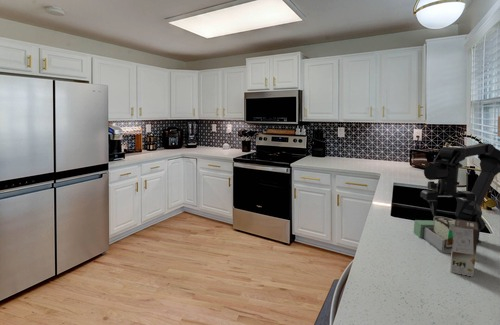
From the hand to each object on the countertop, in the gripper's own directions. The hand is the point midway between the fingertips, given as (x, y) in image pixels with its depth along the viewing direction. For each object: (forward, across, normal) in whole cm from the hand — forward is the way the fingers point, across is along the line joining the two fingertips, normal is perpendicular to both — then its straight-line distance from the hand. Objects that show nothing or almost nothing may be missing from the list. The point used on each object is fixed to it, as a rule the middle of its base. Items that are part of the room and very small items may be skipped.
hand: (445, 215), depth 120 cm
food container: (+12, 0, +2) cm, 12 cm away
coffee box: (+12, +6, +22) cm, 26 cm away
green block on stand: (+12, +1, -1) cm, 12 cm away
